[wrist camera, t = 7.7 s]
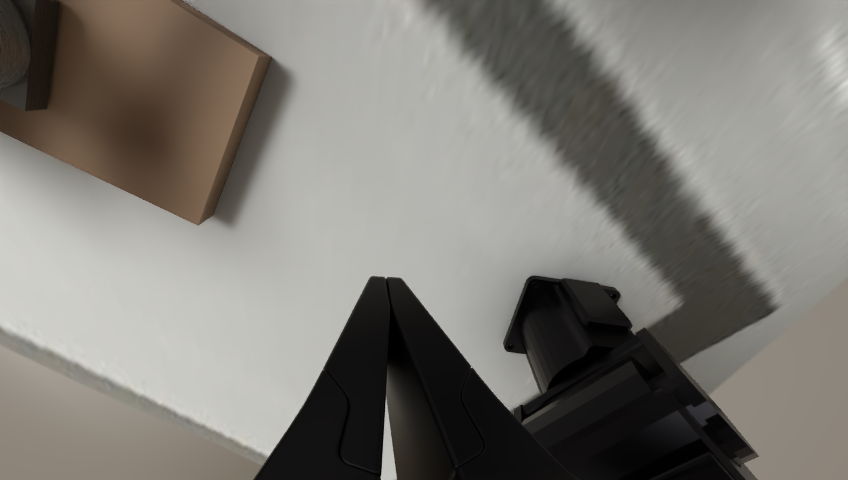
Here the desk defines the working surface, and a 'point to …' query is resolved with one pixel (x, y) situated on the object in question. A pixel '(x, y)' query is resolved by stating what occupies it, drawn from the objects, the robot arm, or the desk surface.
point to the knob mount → (146, 100)
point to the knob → (27, 51)
